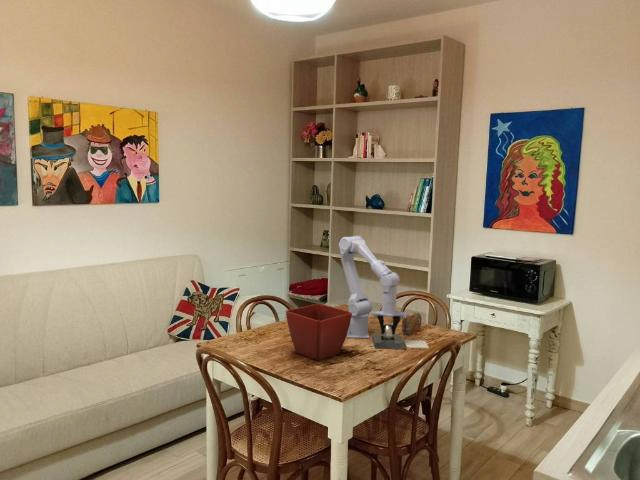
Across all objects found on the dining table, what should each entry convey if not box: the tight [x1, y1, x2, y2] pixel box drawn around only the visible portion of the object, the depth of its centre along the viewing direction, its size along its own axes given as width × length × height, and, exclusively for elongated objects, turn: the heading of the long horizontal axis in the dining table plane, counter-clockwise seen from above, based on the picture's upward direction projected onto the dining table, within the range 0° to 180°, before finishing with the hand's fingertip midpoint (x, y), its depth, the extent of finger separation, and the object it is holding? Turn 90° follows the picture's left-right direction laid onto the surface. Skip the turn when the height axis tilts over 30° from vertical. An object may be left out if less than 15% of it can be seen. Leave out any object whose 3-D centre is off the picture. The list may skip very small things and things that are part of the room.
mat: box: [403, 339, 430, 349], centre depth 216 cm, size 9×9×1 cm
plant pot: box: [285, 303, 352, 361], centre depth 202 cm, size 19×19×17 cm
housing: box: [371, 333, 405, 350], centre depth 216 cm, size 12×12×2 cm
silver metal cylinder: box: [383, 323, 393, 340], centre depth 216 cm, size 4×4×8 cm
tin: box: [401, 312, 422, 336], centre depth 234 cm, size 15×3×8 cm, turn 143°
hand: (387, 333), depth 216 cm, fingers closed on silver metal cylinder, 4 cm apart
